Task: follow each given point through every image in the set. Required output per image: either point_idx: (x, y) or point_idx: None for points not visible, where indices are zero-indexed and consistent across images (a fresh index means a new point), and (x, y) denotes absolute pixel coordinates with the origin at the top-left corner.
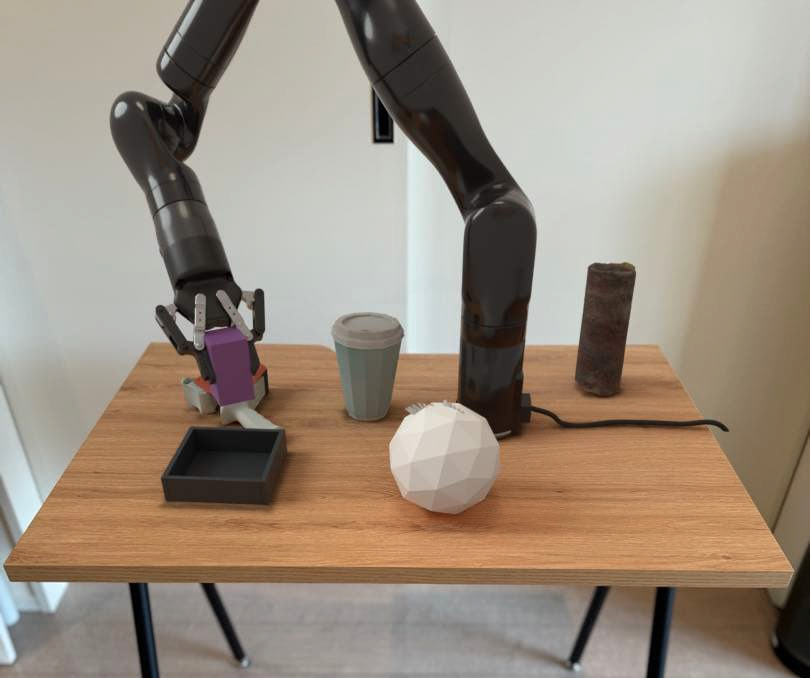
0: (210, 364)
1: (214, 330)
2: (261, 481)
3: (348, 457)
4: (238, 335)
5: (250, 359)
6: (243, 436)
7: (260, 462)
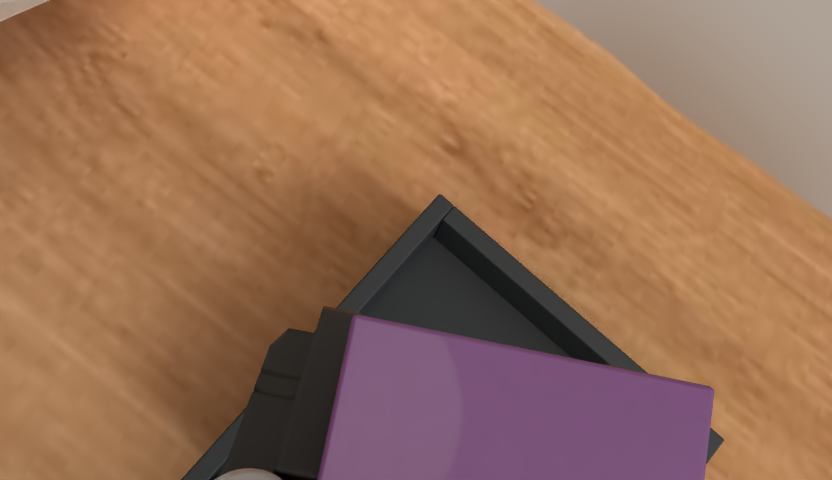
0: None
1: None
2: (448, 203)
3: (47, 323)
4: (383, 442)
5: (336, 359)
6: None
7: None
